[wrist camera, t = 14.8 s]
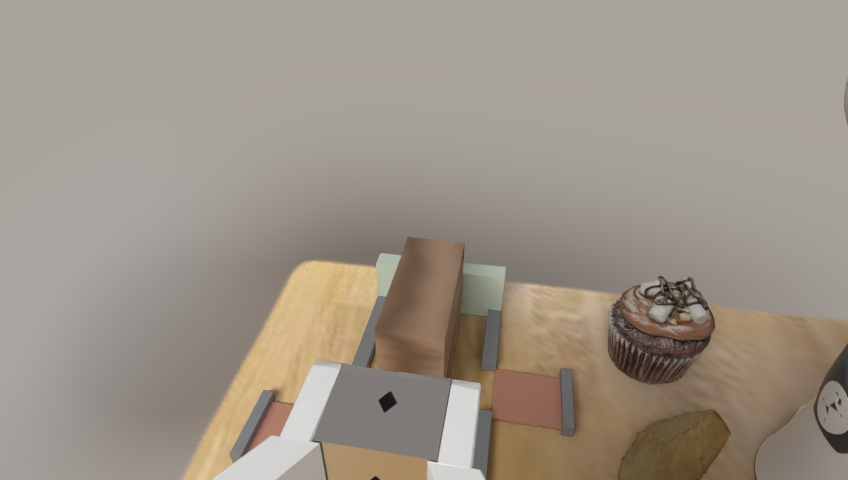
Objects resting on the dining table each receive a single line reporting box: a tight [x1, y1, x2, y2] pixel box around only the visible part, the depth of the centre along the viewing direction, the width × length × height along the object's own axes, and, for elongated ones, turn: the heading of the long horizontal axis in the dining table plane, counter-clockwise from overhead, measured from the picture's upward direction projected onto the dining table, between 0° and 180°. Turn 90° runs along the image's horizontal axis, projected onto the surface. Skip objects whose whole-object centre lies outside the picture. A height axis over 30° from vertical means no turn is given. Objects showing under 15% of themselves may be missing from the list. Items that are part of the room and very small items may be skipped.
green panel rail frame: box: [230, 253, 575, 479], centre depth 49 cm, size 30×33×6 cm
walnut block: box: [374, 237, 464, 378], centre depth 53 cm, size 6×14×11 cm, turn 170°
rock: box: [618, 410, 731, 480], centre depth 43 cm, size 11×9×10 cm
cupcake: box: [608, 276, 715, 385], centre depth 54 cm, size 10×10×10 cm
